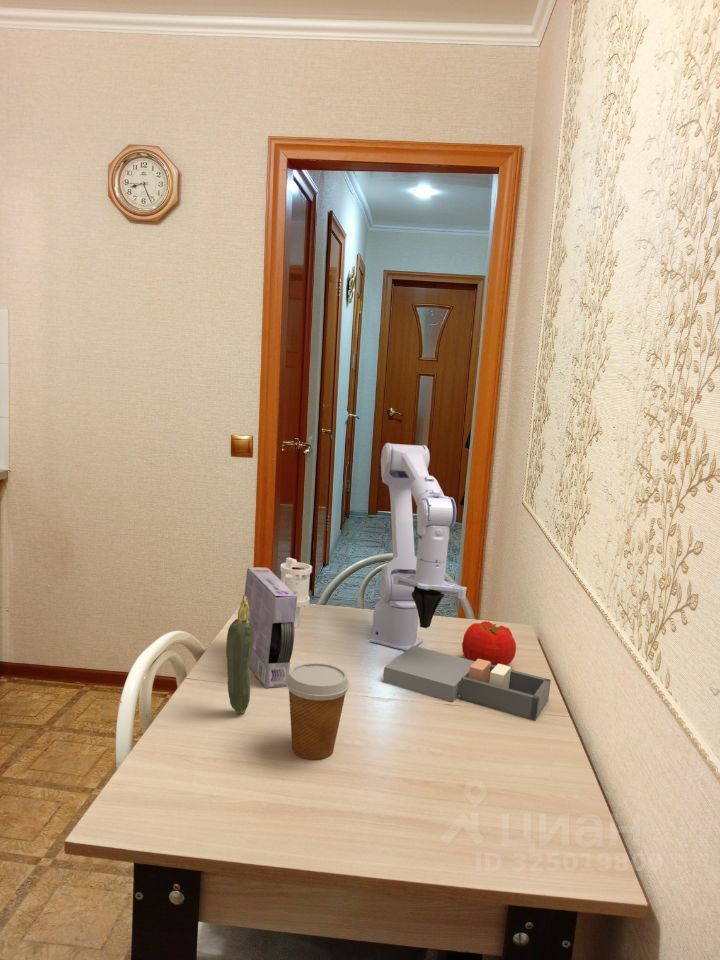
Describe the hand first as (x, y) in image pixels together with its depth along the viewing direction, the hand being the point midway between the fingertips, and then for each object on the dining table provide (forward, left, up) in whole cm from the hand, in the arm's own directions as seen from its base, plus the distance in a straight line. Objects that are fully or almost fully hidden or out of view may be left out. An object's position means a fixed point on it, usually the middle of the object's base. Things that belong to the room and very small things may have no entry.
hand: (425, 626), depth 140 cm
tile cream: (+15, -2, -6) cm, 16 cm away
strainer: (-34, +6, -10) cm, 36 cm away
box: (+18, -2, -9) cm, 20 cm away
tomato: (+10, +12, -10) cm, 18 cm away
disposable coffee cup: (-2, -38, -10) cm, 39 cm away
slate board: (+3, -2, -9) cm, 10 cm away
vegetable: (-18, -36, -10) cm, 41 cm away
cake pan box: (-25, -18, -10) cm, 32 cm away
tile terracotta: (+11, -2, -6) cm, 13 cm away
